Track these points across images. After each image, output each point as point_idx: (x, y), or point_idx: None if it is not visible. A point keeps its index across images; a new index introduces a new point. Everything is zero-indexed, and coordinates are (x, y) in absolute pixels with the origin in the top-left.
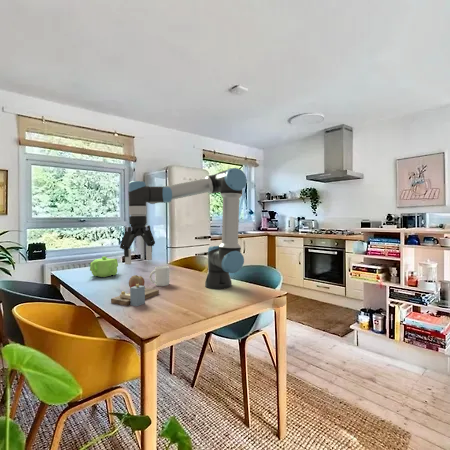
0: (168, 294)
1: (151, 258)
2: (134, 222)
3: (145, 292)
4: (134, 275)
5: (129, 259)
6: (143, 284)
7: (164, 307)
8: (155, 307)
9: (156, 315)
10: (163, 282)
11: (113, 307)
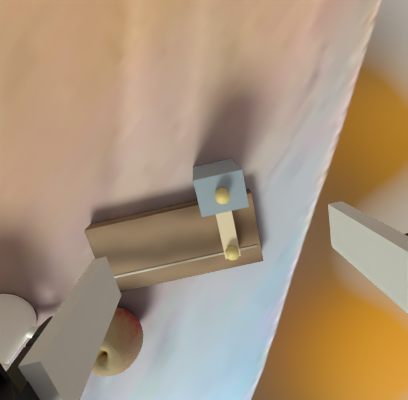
0: (66, 191)
1: (93, 263)
2: None
3: (141, 239)
4: (108, 372)
5: (367, 219)
6: None
7: (176, 64)
8: (198, 93)
9: (253, 8)
10: (8, 304)
11: (282, 208)
